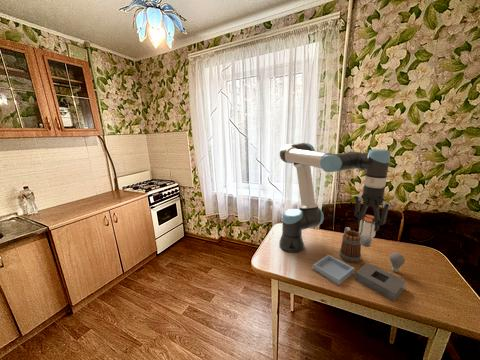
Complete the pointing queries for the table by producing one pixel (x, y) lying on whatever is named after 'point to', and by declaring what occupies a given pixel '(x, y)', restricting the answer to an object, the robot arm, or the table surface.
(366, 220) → the pin
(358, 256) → the mug
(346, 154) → the robot arm
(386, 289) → the hitch block
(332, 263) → the tray
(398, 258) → the light bulb
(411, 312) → the table surface
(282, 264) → the table surface
